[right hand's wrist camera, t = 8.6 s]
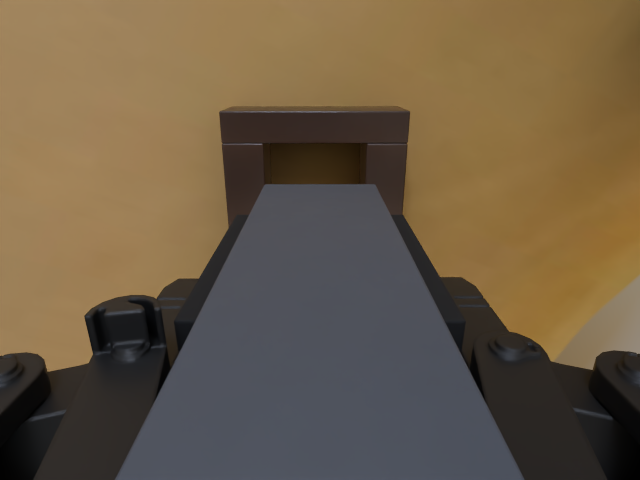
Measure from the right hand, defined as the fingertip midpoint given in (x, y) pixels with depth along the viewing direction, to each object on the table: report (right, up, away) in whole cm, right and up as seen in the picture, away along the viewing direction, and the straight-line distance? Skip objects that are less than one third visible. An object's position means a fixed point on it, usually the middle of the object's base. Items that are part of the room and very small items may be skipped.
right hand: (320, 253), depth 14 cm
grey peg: (0, +1, +1) cm, 2 cm away
